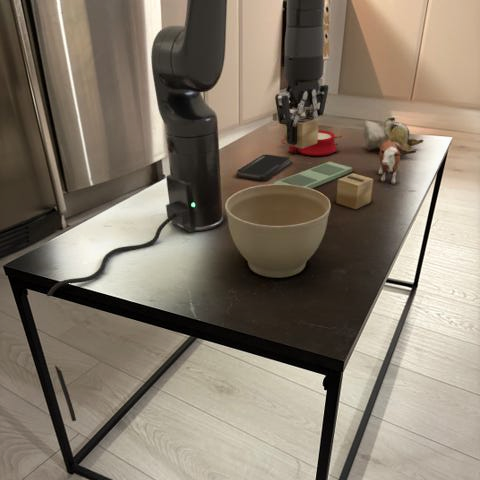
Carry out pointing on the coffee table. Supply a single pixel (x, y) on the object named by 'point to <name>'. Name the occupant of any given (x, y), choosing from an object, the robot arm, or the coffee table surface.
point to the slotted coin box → (354, 191)
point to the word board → (317, 175)
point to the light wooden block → (305, 132)
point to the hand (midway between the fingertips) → (300, 140)
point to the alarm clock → (319, 145)
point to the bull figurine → (389, 159)
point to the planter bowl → (277, 226)
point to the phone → (263, 167)
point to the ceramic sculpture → (389, 135)
